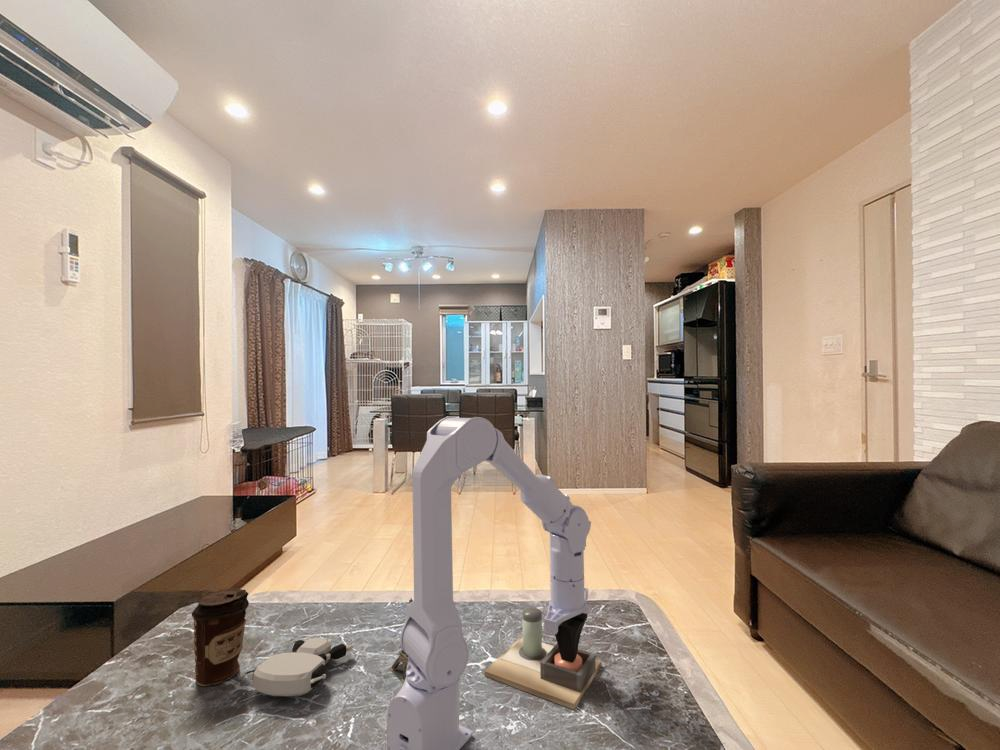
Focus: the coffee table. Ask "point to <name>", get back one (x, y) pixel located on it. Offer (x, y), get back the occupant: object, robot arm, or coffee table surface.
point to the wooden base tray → (544, 674)
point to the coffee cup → (219, 635)
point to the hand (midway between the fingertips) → (568, 659)
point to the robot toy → (296, 668)
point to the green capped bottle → (532, 632)
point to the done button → (569, 663)
